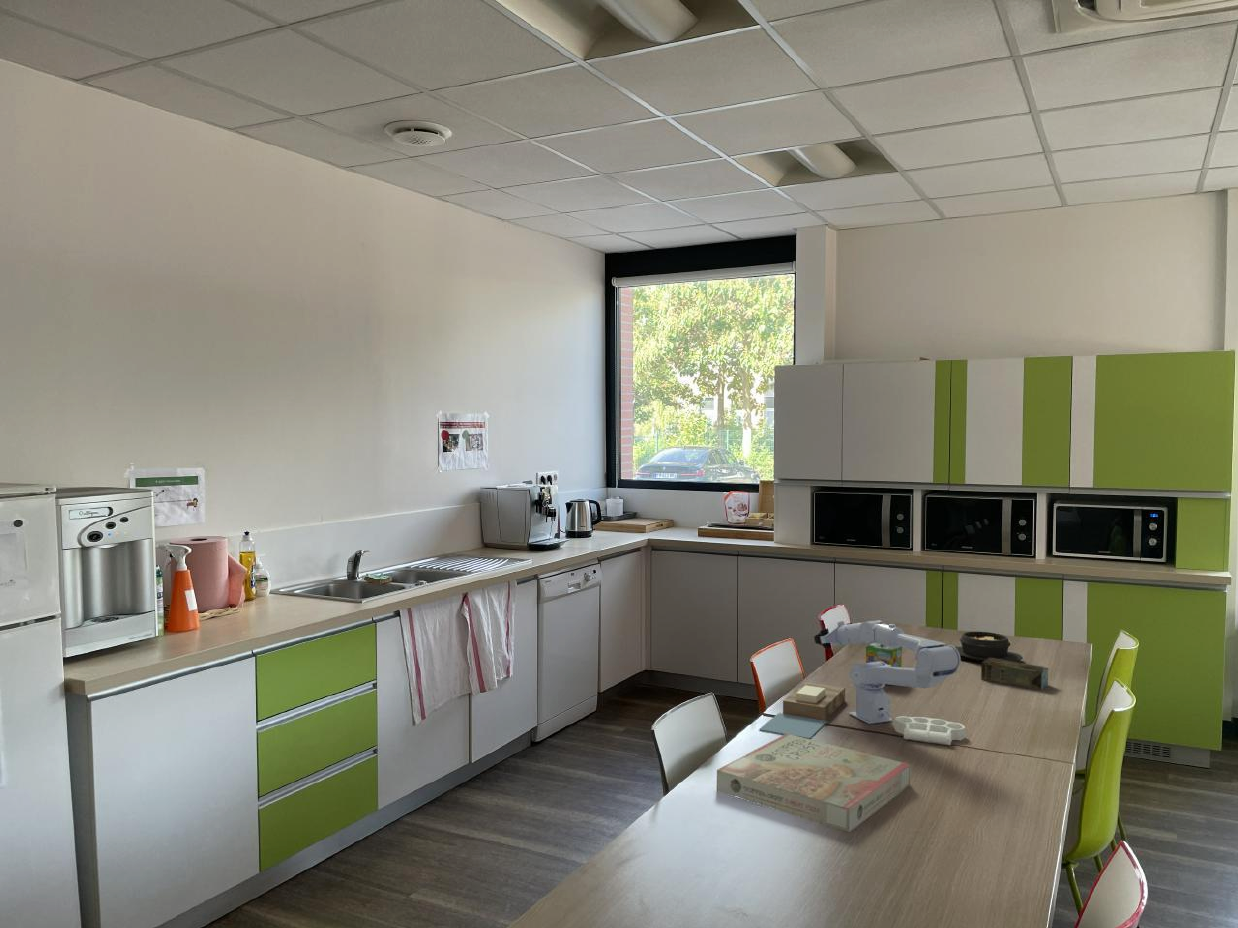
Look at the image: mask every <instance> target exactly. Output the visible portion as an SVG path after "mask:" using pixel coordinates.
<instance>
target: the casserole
mask: <svg viewBox="0 0 1238 928" xmlns="http://www.w3.org/2000/svg"><path fill="white" fill-rule="evenodd" d="M959 641H960V643H961V646H954V647H955V648H956V649H957V650H958V652H959V654H960V657H963V658H967V659H969V660H971V661H974V662H979V663H982V662H983V661H985V660H986V659H988V658H989V657H990V658H996V659H1002V660H1008V661H1013V662H1018V661H1021V660H1023V659H1024V658H1023V656H1022V655H1021V654H1019V653H1016V652H1012V651H1009V647H1010V646H1011V643H1010V642H1009V638H1008V637H1007V636H1005V635H1003V634H999V633H995V632H989V631H967V632H964V633H963V634H962V636H961V638H959Z"/></svg>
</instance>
